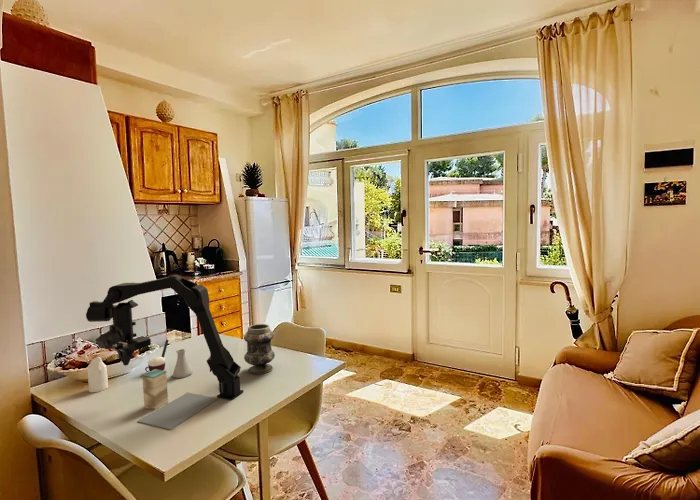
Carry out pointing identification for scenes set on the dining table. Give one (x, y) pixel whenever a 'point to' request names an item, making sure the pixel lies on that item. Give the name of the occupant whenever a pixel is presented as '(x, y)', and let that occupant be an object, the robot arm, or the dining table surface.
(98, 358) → the white rounded block
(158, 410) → the slate pad
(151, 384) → the brown and teal block
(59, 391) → the dining table surface
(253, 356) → the apothecary jar
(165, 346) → the cocoa
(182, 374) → the flask
